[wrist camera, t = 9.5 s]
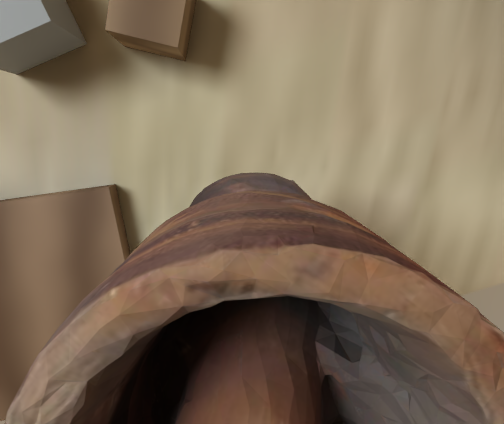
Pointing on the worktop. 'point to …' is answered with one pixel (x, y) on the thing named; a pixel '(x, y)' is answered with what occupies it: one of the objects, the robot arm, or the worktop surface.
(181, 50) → the dark oak block
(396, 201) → the worktop surface
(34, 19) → the slate grey cube
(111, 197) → the walnut board
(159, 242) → the mortar and pestle
